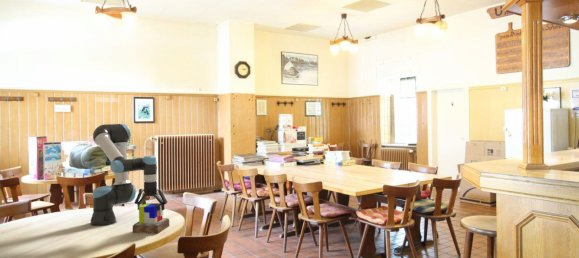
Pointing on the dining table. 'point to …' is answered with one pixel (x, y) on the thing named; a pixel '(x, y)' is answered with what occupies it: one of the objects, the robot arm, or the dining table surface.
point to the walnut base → (151, 227)
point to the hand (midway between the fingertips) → (151, 215)
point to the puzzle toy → (150, 213)
